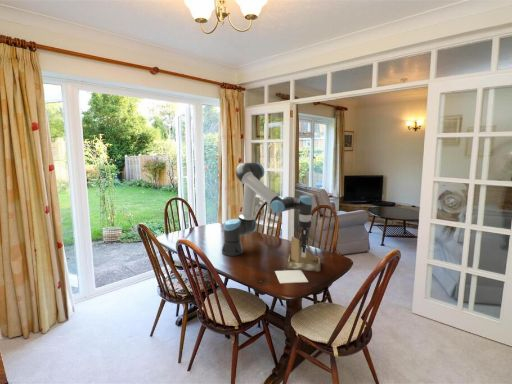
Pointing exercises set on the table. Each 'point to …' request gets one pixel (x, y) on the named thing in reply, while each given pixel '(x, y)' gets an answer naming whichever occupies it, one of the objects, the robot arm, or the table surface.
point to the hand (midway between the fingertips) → (303, 253)
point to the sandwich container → (297, 250)
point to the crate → (304, 265)
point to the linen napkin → (291, 276)
